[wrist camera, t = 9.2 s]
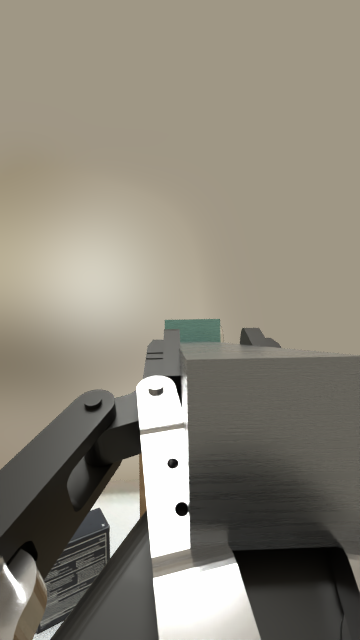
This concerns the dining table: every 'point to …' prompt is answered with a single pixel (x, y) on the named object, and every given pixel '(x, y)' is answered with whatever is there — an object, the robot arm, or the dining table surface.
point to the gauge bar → (268, 442)
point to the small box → (76, 568)
